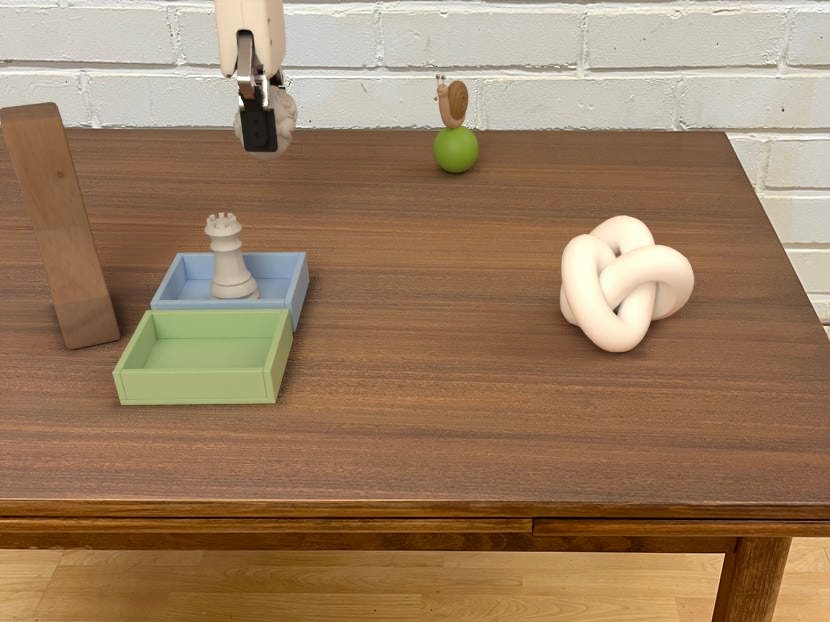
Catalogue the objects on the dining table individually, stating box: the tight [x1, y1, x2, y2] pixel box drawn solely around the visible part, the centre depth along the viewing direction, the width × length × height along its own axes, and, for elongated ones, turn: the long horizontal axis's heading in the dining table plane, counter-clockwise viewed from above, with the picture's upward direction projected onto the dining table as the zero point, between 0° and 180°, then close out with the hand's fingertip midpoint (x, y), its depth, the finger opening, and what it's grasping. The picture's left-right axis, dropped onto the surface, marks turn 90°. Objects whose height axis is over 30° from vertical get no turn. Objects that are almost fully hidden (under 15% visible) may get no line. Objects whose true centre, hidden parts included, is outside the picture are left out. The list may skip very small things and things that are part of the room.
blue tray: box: [149, 251, 310, 333], centre depth 87 cm, size 12×10×3 cm
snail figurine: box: [432, 73, 480, 174], centre depth 111 cm, size 5×6×12 cm
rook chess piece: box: [203, 212, 259, 300], centre depth 86 cm, size 4×4×8 cm
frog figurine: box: [232, 85, 299, 162], centre depth 95 cm, size 6×7×7 cm
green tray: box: [111, 309, 294, 406], centre depth 78 cm, size 12×10×3 cm
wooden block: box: [0, 101, 121, 350], centre depth 80 cm, size 9×4×18 cm, turn 24°
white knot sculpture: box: [559, 214, 695, 353], centre depth 82 cm, size 11×12×9 cm
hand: (267, 137), depth 96 cm, fingers closed on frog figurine, 6 cm apart
